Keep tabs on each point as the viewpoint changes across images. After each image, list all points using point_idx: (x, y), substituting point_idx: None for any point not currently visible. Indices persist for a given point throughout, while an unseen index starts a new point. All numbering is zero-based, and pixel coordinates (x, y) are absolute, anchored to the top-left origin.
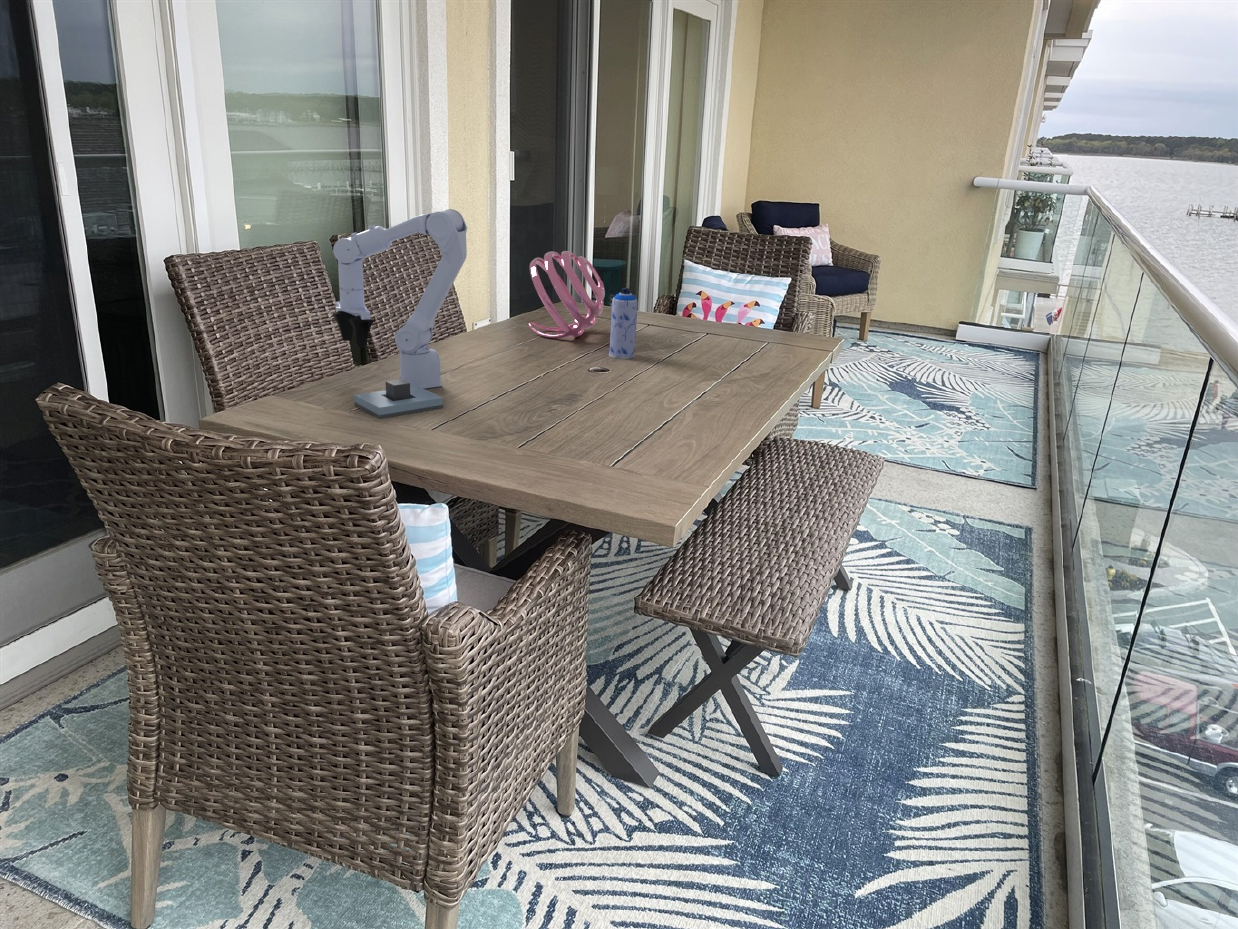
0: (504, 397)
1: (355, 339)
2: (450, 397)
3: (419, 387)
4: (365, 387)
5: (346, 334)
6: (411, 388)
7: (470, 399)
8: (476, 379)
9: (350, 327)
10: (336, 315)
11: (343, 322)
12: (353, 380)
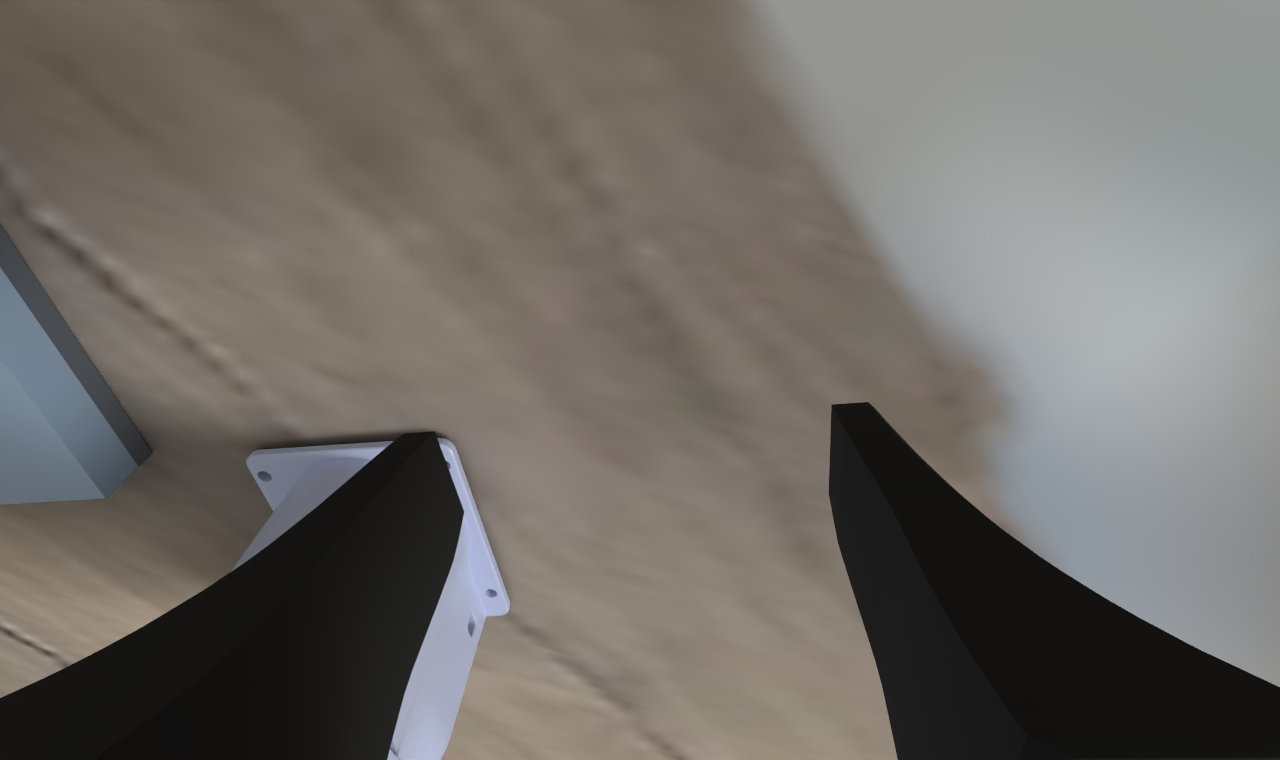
0: None
1: (368, 484)
2: (118, 566)
3: (56, 495)
4: (414, 247)
5: (853, 501)
6: (24, 449)
7: (81, 615)
8: (452, 743)
9: (882, 642)
10: (1014, 735)
11: (924, 653)
12: (657, 236)
